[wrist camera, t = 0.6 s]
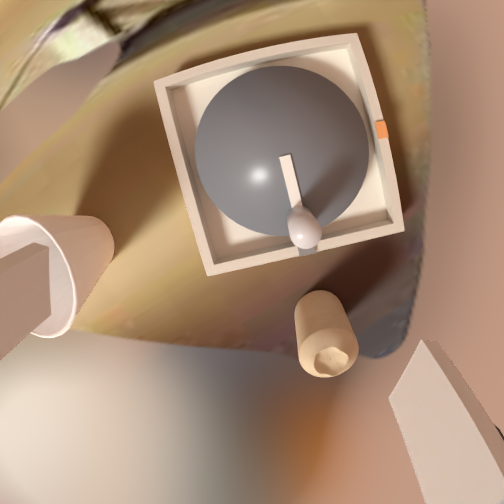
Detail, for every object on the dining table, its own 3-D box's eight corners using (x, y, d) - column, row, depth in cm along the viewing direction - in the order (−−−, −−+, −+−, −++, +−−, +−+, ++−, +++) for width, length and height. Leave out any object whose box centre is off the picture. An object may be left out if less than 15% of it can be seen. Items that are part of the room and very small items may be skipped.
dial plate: (163, 87, 30) (152, 80, 27) (349, 43, 27) (357, 31, 24) (213, 265, 35) (206, 277, 32) (393, 224, 32) (405, 231, 29)
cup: (100, 174, 33) (29, 186, 21) (152, 263, 36) (101, 311, 24) (40, 226, 35) (-27, 254, 23) (86, 304, 38) (32, 353, 26)
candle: (336, 283, 35) (356, 328, 25) (346, 324, 36) (366, 376, 27) (288, 297, 36) (292, 347, 26) (301, 338, 37) (308, 393, 27)
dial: (182, 95, 29) (154, 78, 21) (339, 58, 27) (359, 30, 19) (223, 247, 33) (208, 275, 25) (377, 212, 31) (407, 229, 23)
